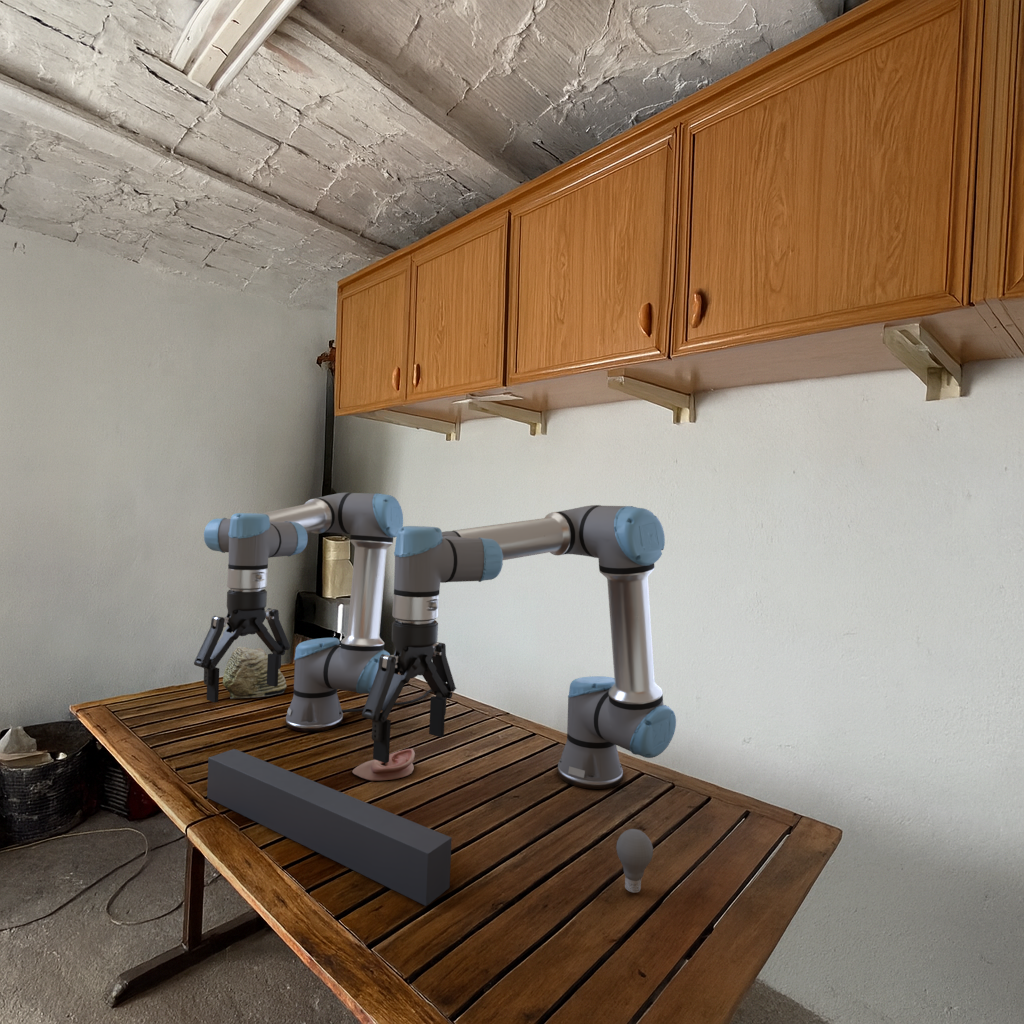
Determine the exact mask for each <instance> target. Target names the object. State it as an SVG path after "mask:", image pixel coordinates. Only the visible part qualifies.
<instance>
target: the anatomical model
mask: <svg viewBox="0 0 1024 1024" xmlns="http://www.w3.org/2000/svg"><path fill="white" fill-rule="evenodd" d="M415 755H416V753H415V750H414V749H413V748H405V749H401V750H398V751H396V752H392V753H389V762H387V763H384V762H381V761H378V760H375V759H371V760H368V761H365V762H362V763H361V764H359V765H358V766H356V767H355V768H353V770H352V774H353V775H354V776H357V777H359V778H361V779H364V780H367V781H372V782H373V781H388V780H390V781H391V780H397V779H400V778H404V777H407V776H409V775H410V774H412V773H413V771H414V763H413V762H414V760H415Z"/></svg>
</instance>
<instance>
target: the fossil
mask: <svg viewBox="0 0 1024 1024" xmlns="http://www.w3.org/2000/svg"><path fill="white" fill-rule="evenodd" d="M267 663H268V653H266V652H265V650H264V649H263V648H260V647H258V648H251V647H247V646H246V647H245V646H238V647H237V648H236V649H235V650H233V651H232V653H231V656H230V657H229V659H228V660H227V663H226V666H225V668H224V671H223V675H222V676H223V677H222V685H223V687H224V688H225V690H226V691H228V693H229V698H230V699H250V698H264V697H271V696H275V695H281V694H284V693H285V691H286V689H287V687H288V686H287V680H286V678H285V676H284V674H283V673H282V672H281V669H278V686H276V687H274V686H270V685H267Z"/></svg>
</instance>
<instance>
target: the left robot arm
mask: <svg viewBox="0 0 1024 1024" xmlns="http://www.w3.org/2000/svg"><path fill="white" fill-rule="evenodd" d="M403 513H404V512H403V509H402V506H401V504H400V502H399V500H398V499H397V498H396V497H395V496H393V495H390V494H386V493H381V492H380V493H371V492H369V493H367V492H338V493H334V494H328V495H324V496H320V497H315V498H311V499H309V500H307V501H305V503H304V504H300V505H295V506H290V507H284V508H280V509H276V510H271V511H265V512H260V513H258V512H257V513H254V512H253V513H251V512H236V513H233V514H232V515H231V516H230V518H227V517H222V518H213V519H211V520H209V522H208V523H207V524H206V525H205V526H204V527H205V528H204V531H203V541H204V543H205V545H206V547H207V548H208V549H209V550H211V551H214V552H221V553H224V554H225V553H228V564H227V581H226V587H227V588H228V589H229V590H228V591H227V592H226V610H227V613H226V616H219V615H213V616H212V617H211V621H210V627H209V629H208V631H207V634H206V636H205V638H204V640H203V642H202V644H201V647H200V649H199V651H198V653H197V656H196V657H195V659H194V661H193V665H194V666H196V667H200V668H201V669H202V668H203V684H204V685H205V686H206V701H209V702H211V703H219V695H220V694H219V692H220V668H219V667H217V666H218V664H219V663H220V661H221V660H222V659H223V657H224V656H225V654H226V653H227V652H228V650H229V649H230V648H231V646H232V645H233V643H234V642H235V641H236V640H238V639H239V638H240V637H245V636H248V635H257V636H258V638H259V639H260V640H261V641H262V643H264V645H265V646H266V647H267V649H268V650H269V651H270V652H271V653H267V655H268V663H267V685H270V686H274V687H276V686H278V669H279V670H281V668H282V656H284V655H286V651H289V650H290V649H291V644H290V641H289V640H288V637H287V636H286V633H285V630H284V627H283V626H282V623H281V620H280V615H279V612H280V611H279V610H278V609H277V608H276V609H275V608H272V607H269V608H267V603H268V602H267V601H268V591H267V589H266V588H267V587H268V572H269V571H268V570H269V569H268V567H269V559H270V558H279V557H291V556H295V555H299V554H300V553H302V552H304V550H305V549H306V547H307V545H308V540H309V538H308V537H309V536H308V534H310V533H311V534H315V535H318V534H324V533H332V534H333V533H335V534H344V535H350V537H349V541H350V543H351V544H352V545H353V547H354V556H353V564H352V565H353V567H352V578H351V588H350V598H349V599H350V600H349V609H348V610H349V612H348V622H347V634H346V636H344V638H342V639H341V640H340V639H339V638H337V637H321V638H313V639H307V640H304V641H302V642H299V643H298V644H297V645H296V647H295V652H294V653H295V654H294V658H293V660H294V672H293V673H294V674H293V695H292V696H293V697H292V699H291V702H290V704H289V706H288V709H287V711H286V712H287V713H286V715H285V726H286V728H287V729H289V730H291V731H294V732H295V731H296V732H301V733H316V732H325V731H329V730H332V729H335V728H337V727H339V726H340V725H342V723H343V722H344V713H357V712H363V709H364V707H361V708H345V709H342V706H341V702H340V699H339V695H338V691H346V692H351V693H357V694H359V695H362V694H368V695H369V693H370V690H371V687H372V685H373V682H374V679H375V676H376V674H377V671H378V667H379V658H380V656H381V655H382V654H384V655H389V656H390V655H391V654H390V652H388V651H387V650H385V642H384V641H383V639H382V638H381V636H380V633H381V620H382V612H383V611H382V610H383V597H384V587H385V577H386V576H385V574H386V564H387V553H388V552H387V551H388V549H389V548H390V547H392V545H393V544H394V538H396V537H397V532H398V530H399V529H400V528H401V527H404V514H403ZM266 608H267V609H266ZM265 620H266V621H267V623H268V625H269V628H270V631H271V633H272V634H271V633H270V632H269V631H268V630H269V629H268V628H267V627H266V625H265V624H264V622H265ZM225 627H226V628H225ZM224 628H225V630H224ZM455 690H457V687H456V686H455ZM431 692H432V693H433V691H432V690H431V688H430V689H428V690H426V692H425V693H424V694H422V695H421V696H419V697H416V698H413V699H411V700H405V701H402V702H401V701H399V702H395V704H394V706H402V705H408V704H412V703H416V702H418V701H420V700H422V699H424V698H426V697H427V696H428V694H430V693H431Z"/></svg>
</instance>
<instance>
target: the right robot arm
mask: <svg viewBox="0 0 1024 1024" xmlns="http://www.w3.org/2000/svg"><path fill="white" fill-rule="evenodd" d="M395 538H396V539H395V545H394V546H395V547H394V551H393V554H394V574H393V595H392V596H393V598H392V615H391V616H392V618H394V620H393V621H392V622H391V642H392V644H393V645H394V648H395V649H394V653H393V654H390V656H389V655H384V654H382V655H381V656H380V658H379V667H378V671H377V674H376V676H375V679H374V682H373V685H372V687H371V690H370V693H369V694H368V695H367V699H366V701H365V704H364V706H363V708H364V709H363V711H361V716H362V718H364V719H367V720H369V721H371V723H372V724H371V740H372V742H373V749H372V750H373V751H372V760H378V761H381V762H384V763H387V762H389V754H390V747H391V725H392V724H391V723H392V720H391V719H388V717H389V715H390V713H391V712H392V710H393V707H394V706H395V705H394V704H395V703H397V701H398V698H399V696H400V695H401V694H402V693H401V692H402V691H403V689H404V687H405V685H407V684H408V683H409V682H410V680H411V679H415V678H416V677H418V676H422V677H423V679H424V680H425V682H426V684H427V686H429V688H430V689H431V690H432V693H433V694H434V695H432V696H430V702H429V704H430V705H429V729H428V730H429V731H428V734H429V735H430V736H435V737H438V738H444V736H445V722H446V721H445V720H446V718H445V717H446V714H447V699H449V700H451V699H452V697H453V692H455V690H456V689H455V687H456V685H455V684H456V683H455V681H454V677H453V674H452V671H451V668H450V665H449V662H448V658H447V649H446V643H444V642H441V641H440V642H439V641H438V638H439V637H438V635H439V622H438V621H437V620H436V619H438V618H439V605H440V602H439V601H440V599H439V598H440V590H441V589H440V588H441V584H442V583H443V584H444V583H461V582H463V583H464V582H478V583H481V582H484V581H492V580H495V579H496V578H497V577H499V575H500V573H501V572H502V569H503V564H504V561H508V560H512V559H518V558H519V559H520V558H524V557H525V558H526V557H531V556H536V555H537V556H538V555H543V554H547V553H548V554H549V553H550V554H551V555H553V556H564V555H576V556H585V557H590V558H595V559H598V570H599V573H600V574H601V575H603V576H604V578H606V582H607V583H606V584H607V594H608V596H607V597H608V608H609V609H608V610H609V622H610V637H611V638H610V639H611V650H612V651H611V652H612V664H613V677H611V676H601V675H593V676H591V675H589V676H582V677H577V678H574V679H573V680H572V681H571V682H570V683H569V691H568V695H567V724H566V727H567V730H566V732H567V733H566V742H565V744H564V747H563V749H562V753H561V756H560V758H559V759H558V763H557V775H558V777H559V778H560V779H561V780H563V782H566V783H567V784H568V785H572V786H574V787H577V788H583V789H589V790H607V789H611V788H615V787H617V786H618V785H620V784H621V783H622V781H623V775H624V770H623V769H624V768H623V766H622V764H621V762H620V761H621V760H620V755H619V752H618V747H619V748H621V749H624V750H626V751H628V752H631V754H633V755H637V756H640V757H643V758H647V759H653V758H656V757H658V756H659V755H661V754H662V753H664V752H665V750H666V749H667V748H668V747H669V745H670V743H671V741H672V740H673V738H674V736H675V731H676V727H677V718H676V714H675V711H674V710H673V709H672V708H671V707H670V706H669V705H667V704H664V696H663V695H664V694H663V689H662V687H661V686H659V685H658V684H657V682H656V681H655V667H654V666H655V665H654V664H655V663H654V651H653V650H654V649H653V637H652V636H653V635H652V620H651V606H650V605H651V603H650V591H649V590H650V589H649V576H650V575H651V574H652V573H653V571H655V567H656V566H655V563H657V562H658V561H659V560H660V558H662V555H663V552H662V551H663V550H664V549H665V544H666V536H665V531H664V527H663V525H662V523H661V521H660V519H659V518H658V516H656V515H655V514H654V512H652V511H651V510H649V509H648V508H644V507H638V506H633V505H600V504H592V505H585V506H580V507H575V508H570V509H569V508H568V509H564V510H559V511H552V512H549V513H548V514H546V515H545V516H544V517H543V518H542V517H541V518H534V519H528V520H521V521H513V522H506V523H499V524H497V523H496V524H491V525H484V526H475V527H469V528H468V527H467V528H460V529H454V530H445V531H442V529H441V528H440V527H436V526H423V525H422V526H421V525H403V527H401V528H400V529H399V530H398V532H397V537H395ZM617 746H618V747H617Z"/></svg>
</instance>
